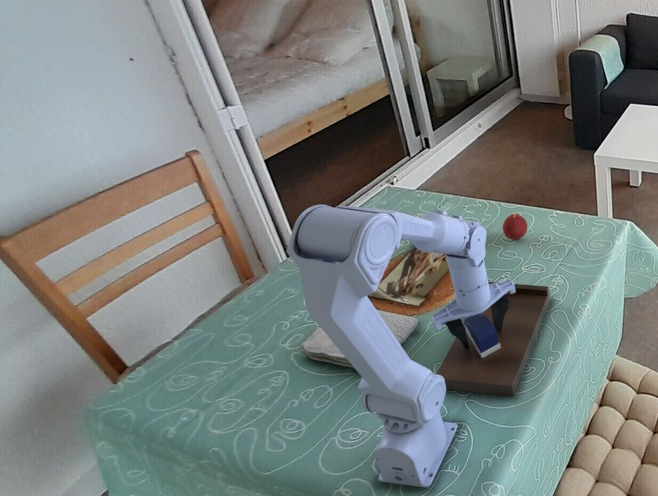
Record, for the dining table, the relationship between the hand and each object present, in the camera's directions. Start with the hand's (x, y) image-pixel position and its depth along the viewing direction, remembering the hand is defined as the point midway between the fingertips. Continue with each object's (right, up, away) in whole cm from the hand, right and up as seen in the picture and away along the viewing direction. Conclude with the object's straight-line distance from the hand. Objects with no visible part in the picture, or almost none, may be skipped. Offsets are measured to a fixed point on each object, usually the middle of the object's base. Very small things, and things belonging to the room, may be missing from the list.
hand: (482, 336), depth 92 cm
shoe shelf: (+2, -2, +3) cm, 4 cm away
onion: (-1, +12, +30) cm, 33 cm away
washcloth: (-24, -2, +3) cm, 24 cm away
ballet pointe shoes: (-19, +8, +24) cm, 32 cm away
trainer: (0, 0, 0) cm, 0 cm away
